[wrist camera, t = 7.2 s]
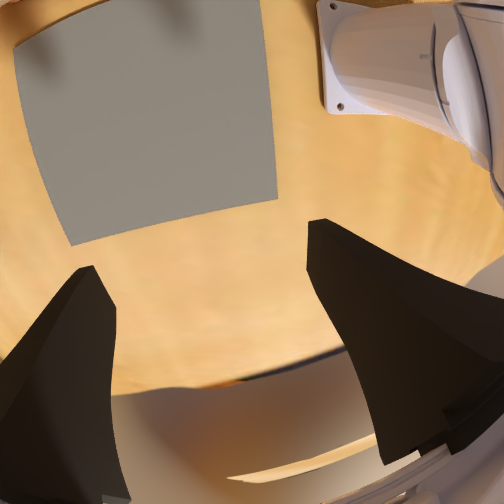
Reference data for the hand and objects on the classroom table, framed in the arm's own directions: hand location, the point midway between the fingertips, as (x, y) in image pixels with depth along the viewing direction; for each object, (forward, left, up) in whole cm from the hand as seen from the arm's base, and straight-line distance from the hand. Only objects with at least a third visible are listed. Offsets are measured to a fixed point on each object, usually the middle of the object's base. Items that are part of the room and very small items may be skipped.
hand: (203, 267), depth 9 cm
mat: (+2, -5, -9) cm, 11 cm away
